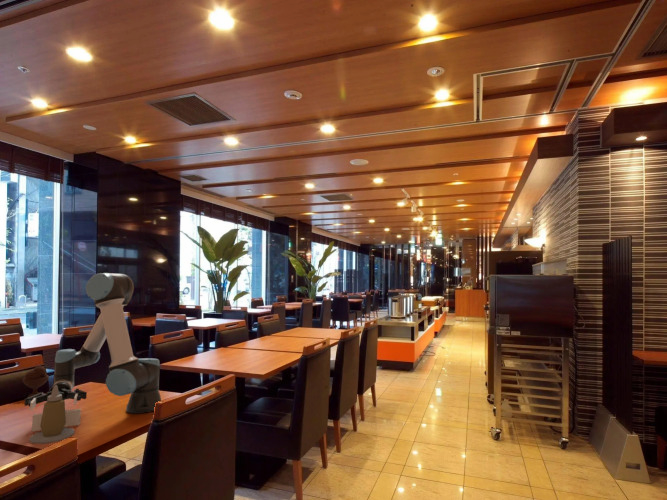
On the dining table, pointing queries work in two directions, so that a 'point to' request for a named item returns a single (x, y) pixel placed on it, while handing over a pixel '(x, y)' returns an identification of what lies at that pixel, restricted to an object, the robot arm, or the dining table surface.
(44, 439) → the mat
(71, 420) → the beige rectangular block
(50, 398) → the squeeze bottle
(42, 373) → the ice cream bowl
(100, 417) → the dining table surface
